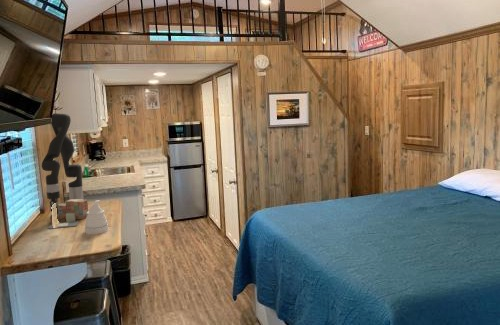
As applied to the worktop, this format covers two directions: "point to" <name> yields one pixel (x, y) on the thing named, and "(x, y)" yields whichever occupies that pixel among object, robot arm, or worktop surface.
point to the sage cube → (70, 217)
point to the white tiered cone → (96, 220)
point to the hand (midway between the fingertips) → (55, 215)
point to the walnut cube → (57, 217)
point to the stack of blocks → (73, 208)
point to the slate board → (65, 224)
